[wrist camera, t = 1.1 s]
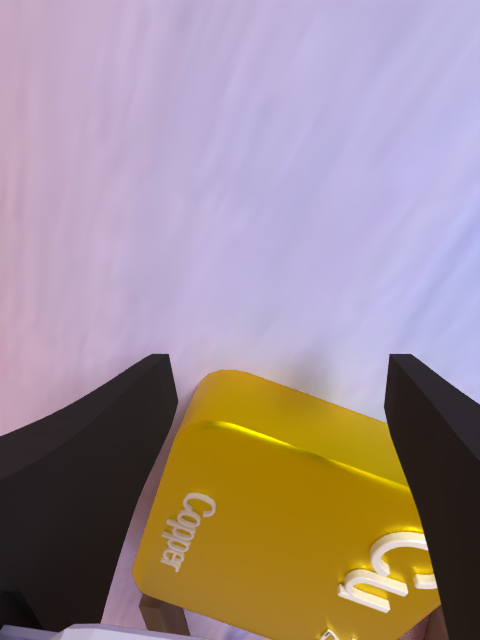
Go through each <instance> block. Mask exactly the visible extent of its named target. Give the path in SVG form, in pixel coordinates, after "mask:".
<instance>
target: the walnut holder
mask: <svg viewBox="0 0 480 640" xmlns="http://www.w3.org/2000/svg"><path fill="white" fill-rule="evenodd" d="M139 608H140V611H141V613H142V616H143V618H144V621H145V624H146V626H147V629H148V630H149V631H156V632H163V633H170V634H177V635H184V636H190V633H189V629H188V626H187V622H186V619H185V615H184V612H183V608H181V607H179V606H176V605H173V604H170V603H167V602H165V601H162V600H159V599H156V598H153V597H151V596H148V595H146V594H144V593H143V596H142V599H141V601H140V604H139ZM424 640H449V637H448V633H447V628H446V624H445V619H444V615H443V610H442V606H441V605H440V606H439V607H438V608H436V609H435V610H434V611H433V612H431V615H430V619H429V623H428V626H427V630H426V634H425V638H424Z"/></svg>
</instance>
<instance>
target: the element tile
mask: <svg viewBox="0 0 480 640" xmlns="http://www.w3.org/2000/svg"><path fill="white" fill-rule="evenodd" d="M132 575H133V578H134V581H135V583H136V584H137V586H138V588H139V590H140V591H141V592H143V593H144V594H146V595H148V596H151V597H153V598H156V599H159V600H162V601H165V602H167V603H170V604H173V605H176V606H179V607H181V608H184V609H187V610H190V611H193V612H195V613H198V614H201V615H204V616H207V617H209V618H212V619H215V620H218V621H221V622H223V623H226V624H229V625H232V626H235V627H237V628H240V629H243V630H246V631H249V632H251V633H254V634H257V635H260V636H263V637H266V638H268V639H271V640H398V639H400V638H401V637H402V636H403V635H405V634H406V633H407V632H408V631H409V630H411V629H412V628H413V627H414V626H416V625H417V624H418V623H419V622H420V621H422V620H423V619H424V618H425V617H427V616H428V615H429V614H430V613H431V612H433V611H434V610H435V609H436V608H438V607H439V606H440V605H441V601H440V597H439V593H438V588H437V584H436V580H435V576H434V572H433V568H432V564H431V559H430V555H429V551H428V547H427V544H426V540H425V536H424V532H423V528H422V524H421V520H420V517H419V514H418V511H417V508H416V504H415V502H414V499H413V496H412V493H411V491H410V488H409V485H408V483H407V480H406V477H405V475H404V472H403V469H402V466H401V464H400V461H399V458H398V456H397V453H396V450H395V447H394V444H393V442H392V439H391V436H390V432H389V428H388V423H385V422H382V421H379V420H377V419H374V418H371V417H368V416H366V415H363V414H360V413H357V412H355V411H352V410H349V409H346V408H344V407H341V406H338V405H335V404H333V403H330V402H327V401H324V400H322V399H319V398H316V397H313V396H311V395H308V394H305V393H302V392H300V391H297V390H294V389H291V388H289V387H286V386H283V385H280V384H278V383H275V382H272V381H269V380H267V379H264V378H261V377H258V376H256V375H253V374H250V373H247V372H243V371H238V370H219V371H216V372H213V373H210V374H208V375H207V376H206V377H205V378H204V379H203V380H202V381H201V382H200V383H199V385H198V386H197V388H196V390H195V392H194V394H193V396H192V399H191V401H190V403H189V406H188V408H187V410H186V413H185V415H184V417H183V420H182V422H181V424H180V427H179V429H178V431H177V433H176V436H175V438H174V440H173V443H172V447H171V450H170V453H169V456H168V459H167V462H166V465H165V468H164V471H163V474H162V477H161V480H160V483H159V486H158V489H157V493H156V496H155V499H154V502H153V505H152V508H151V511H150V514H149V517H148V520H147V523H146V526H145V529H144V532H143V535H142V539H141V542H140V545H139V548H138V551H137V554H136V557H135V560H134V563H133V567H132Z"/></svg>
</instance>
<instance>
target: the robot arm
mask: <svg viewBox="0 0 480 640" xmlns="http://www.w3.org/2000/svg"><path fill="white" fill-rule="evenodd" d="M177 405H178V398H177V393H176V388H175V383H174V378H173V373H172V368H171V363H170V358H169V354H151V355H149V356H147V357H146V358H144V359H142V360H141V361H139V362H137V363H136V364H134V365H133V366H131V367H130V368H128V369H127V370H125V371H124V372H122V373H121V374H119V375H118V376H116V377H115V378H113V379H112V380H110V381H109V382H107V383H106V384H104V385H102V386H101V387H99V388H97V389H96V390H94V391H92V392H91V393H89V394H87V395H86V396H84V397H83V398H81V399H79V400H77V401H76V402H74V403H72V404H70V405H68V406H67V407H65V408H63V409H61V410H59V411H57V412H55V413H53V414H51V415H49V416H47V417H45V418H43V419H40V420H38V421H36V422H33V423H31V424H29V425H26V426H24V427H22V428H20V429H17V430H15V431H13V432H10V433H8V434H5V435H3V436H0V640H212V639H205V638H198V637H191V636H184V635H177V634H170V633H163V632H156V631H149V630H142V629H135V628H128V627H120V626H113V625H106V624H100V623H101V619H102V616H103V612H104V608H105V604H106V600H107V597H108V593H109V590H110V586H111V583H112V580H113V576H114V573H115V569H116V566H117V562H118V559H119V556H120V553H121V550H122V546H123V543H124V540H125V537H126V534H127V531H128V528H129V525H130V522H131V519H132V516H133V513H134V510H135V507H136V504H137V502H138V499H139V496H140V494H141V491H142V489H143V487H144V484H145V482H146V480H147V478H148V476H149V474H150V471H151V469H152V467H153V465H154V463H155V461H156V459H157V456H158V454H159V452H160V450H161V448H162V446H163V443H164V441H165V439H166V437H167V435H168V432H169V430H170V428H171V425H172V422H173V419H174V415H175V412H176V408H177ZM384 409H385V414H386V418H387V423H388V428H389V432H390V436H391V439H392V442H393V444H394V447H395V450H396V453H397V456H398V458H399V461H400V464H401V466H402V469H403V472H404V475H405V477H406V480H407V483H408V485H409V488H410V491H411V493H412V496H413V499H414V502H415V504H416V508H417V511H418V514H419V517H420V520H421V524H422V528H423V532H424V536H425V540H426V544H427V547H428V551H429V555H430V559H431V564H432V568H433V572H434V576H435V580H436V584H437V588H438V593H439V597H440V601H441V606H442V610H443V615H444V619H445V624H446V628H447V633H448V637H449V640H480V404H478V403H477V402H475V401H474V400H472V399H471V398H469V397H468V396H466V395H465V394H464V393H462V392H461V391H459V390H458V389H457V388H455V387H454V386H453V385H451V384H450V383H448V382H447V381H446V380H444V379H443V378H442V377H440V376H439V375H438V374H437V373H435V372H434V371H433V370H431V369H430V368H429V367H428V366H426V365H425V364H424V363H422V362H421V361H420V360H418V359H417V358H416V357H414V356H413V355H411V354H390V356H389V365H388V375H387V384H386V393H385V403H384Z"/></svg>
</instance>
